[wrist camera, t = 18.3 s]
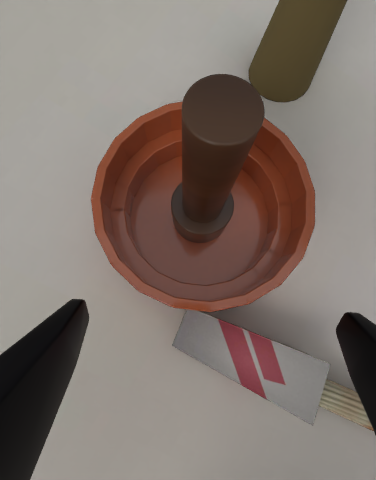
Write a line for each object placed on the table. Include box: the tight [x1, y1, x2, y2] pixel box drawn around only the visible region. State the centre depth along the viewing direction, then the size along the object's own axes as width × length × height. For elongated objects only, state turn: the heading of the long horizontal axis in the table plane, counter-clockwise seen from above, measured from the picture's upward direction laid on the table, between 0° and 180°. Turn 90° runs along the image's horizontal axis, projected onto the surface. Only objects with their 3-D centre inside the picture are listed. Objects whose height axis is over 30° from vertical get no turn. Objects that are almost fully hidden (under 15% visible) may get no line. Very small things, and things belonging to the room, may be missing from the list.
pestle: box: [171, 74, 264, 243], centre depth 14 cm, size 4×4×12 cm
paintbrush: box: [172, 309, 374, 431], centre depth 17 cm, size 4×3×20 cm
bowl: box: [91, 102, 315, 312], centre depth 18 cm, size 14×14×5 cm
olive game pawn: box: [249, 0, 347, 102], centre depth 18 cm, size 6×6×11 cm
